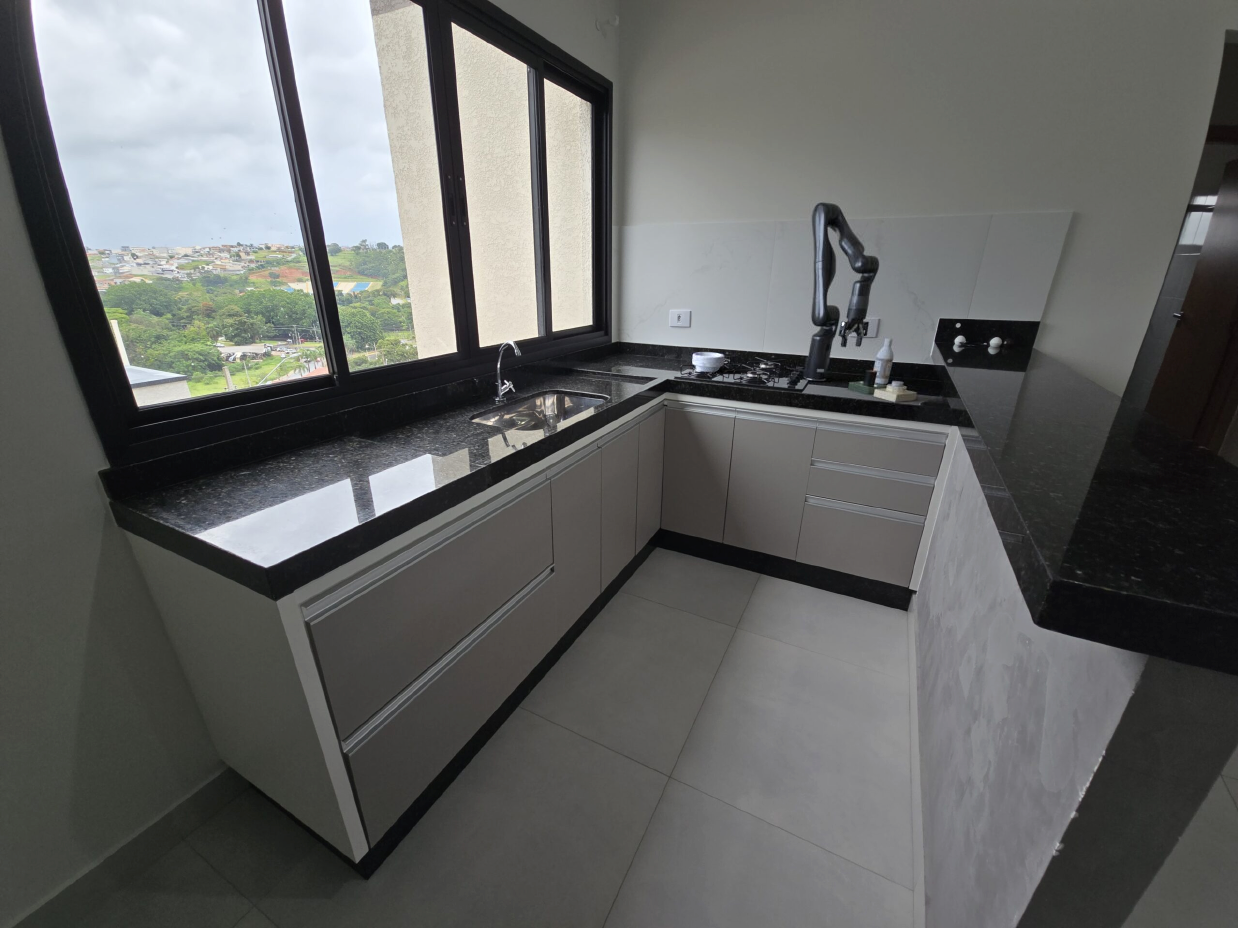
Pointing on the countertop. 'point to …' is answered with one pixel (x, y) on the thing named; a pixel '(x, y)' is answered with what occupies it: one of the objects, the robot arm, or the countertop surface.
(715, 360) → the paper bowls
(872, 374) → the dark brown cylinder
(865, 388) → the tap panel
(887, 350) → the bath foam
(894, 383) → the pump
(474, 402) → the countertop surface
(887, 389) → the cream push button box
